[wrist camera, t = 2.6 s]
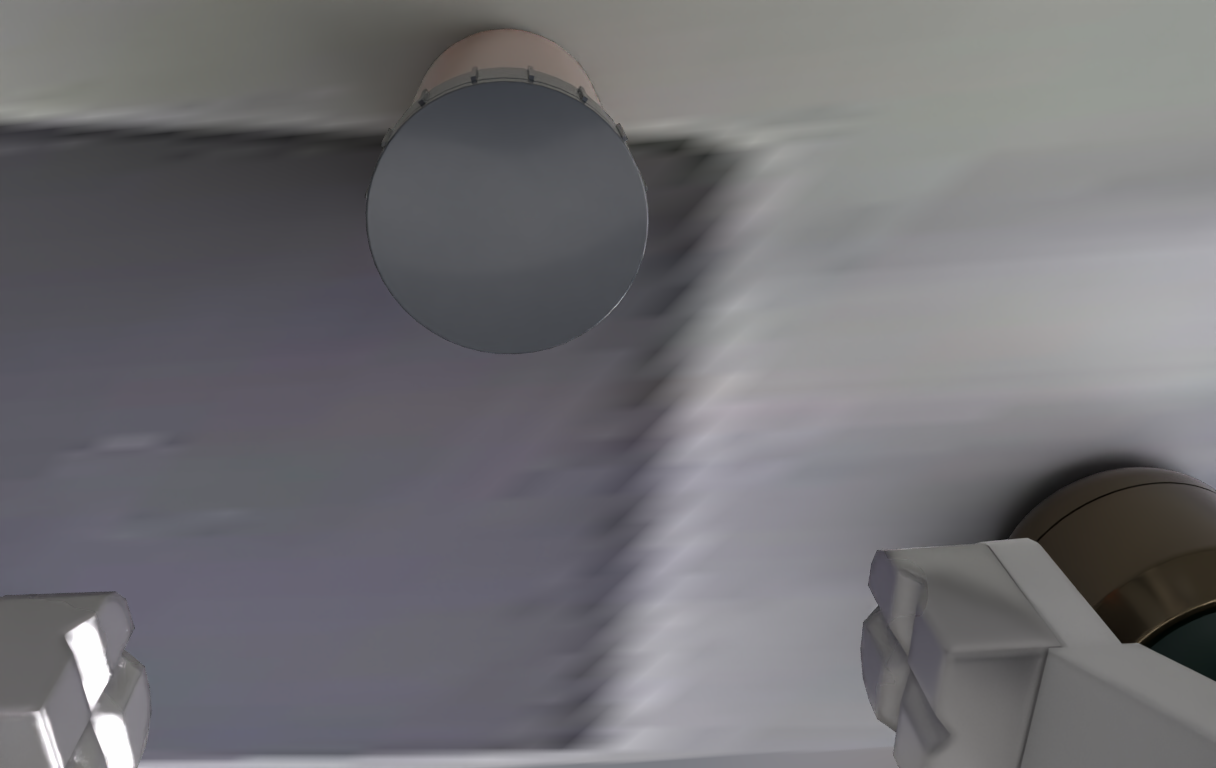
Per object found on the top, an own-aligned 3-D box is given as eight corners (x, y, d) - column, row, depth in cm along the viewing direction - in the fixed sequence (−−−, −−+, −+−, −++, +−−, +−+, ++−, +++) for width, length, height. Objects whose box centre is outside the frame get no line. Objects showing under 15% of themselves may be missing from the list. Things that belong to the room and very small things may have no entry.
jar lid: (360, 67, 22) (347, 82, 20) (641, 62, 22) (653, 77, 20) (387, 328, 24) (378, 361, 23) (638, 319, 25) (648, 351, 23)
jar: (405, 29, 29) (362, 88, 20) (601, 27, 30) (640, 83, 21) (421, 220, 32) (389, 344, 23) (601, 215, 32) (637, 335, 23)
